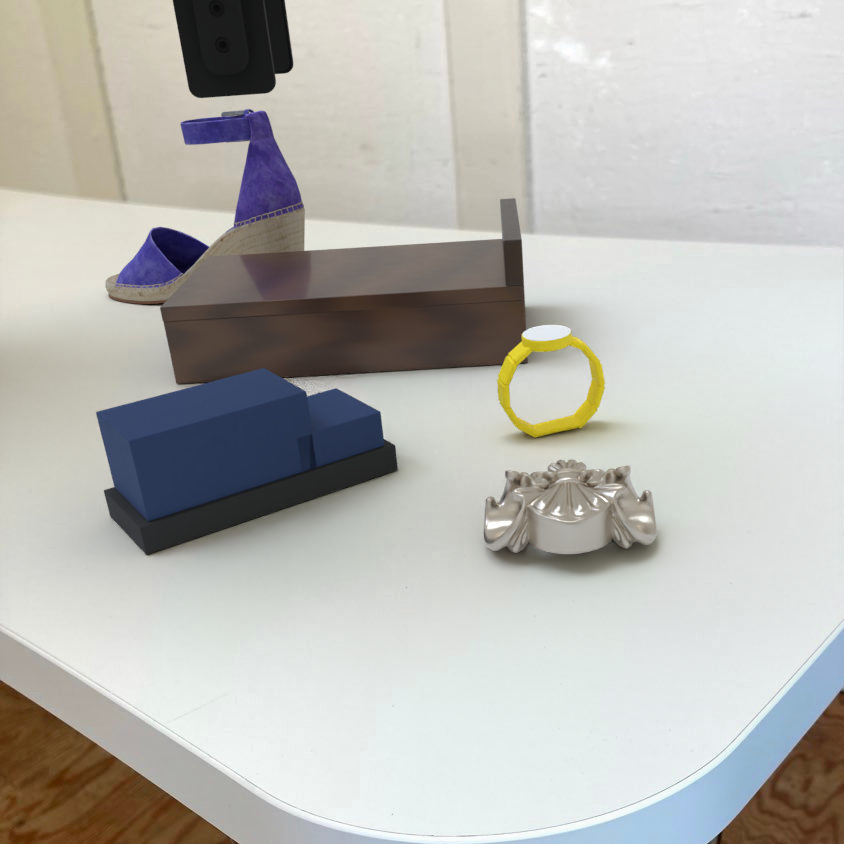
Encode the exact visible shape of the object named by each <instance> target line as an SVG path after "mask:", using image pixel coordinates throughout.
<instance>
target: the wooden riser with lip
mask: <svg viewBox="0 0 844 844" xmlns="http://www.w3.org/2000/svg"><path fill="white" fill-rule="evenodd" d="M499 206H500V224H501V226H500V227H501V238H491V239H476V240H461V241H443V242H425V243H410V244H393V245H377V246H376V245H375V246H361V247H343V248H327V249H312V250H304V251H293V252H277V253H260V254H244V255H227V256H211V257H208V258H207V259H206V260H205V261H204V262H203V263H202V264H201V265H200V266H199V267H198V268H197V269H196V270H195V271H194V272H193V274H192V275H191V276H190V277H189V278H188V279H187V280H186V281H185V282H184V283H183V284H182V285H181V286H180V287H179V288H178V289H177V290H176V291H175V292H174V293H173V294H172V295H171V296H170V297H169V299H168V300H167V301H166V302H165V303H162V305H161V306H160V307H159V310H160V315H161V321H162V322H163V326H164V331H165V336H166V341H167V346H168V351H169V355H170V360H171V364H172V369H173V374H174V379H175V383H176V384H177V385H184V384H197V383H198V384H199V383H200V384H202V383H209V382H212V381H216V380H220V379H224V378H228V377H232V376H235V375H239V374H243V373H247V372H251V371H255V370H258V369H262V368H265V369H267V370H269V371H270V372H272V373H274V374H276V375H278V376H279V377H281V378H283V379H284V378H298V377H315V376H331V375H332V376H333V375H347V374H348V375H350V374H364V373H366V374H367V373H380V372H381V373H382V372H397V371H399V372H400V371H413V370H415V371H417V370H430V369H446V368H449V369H450V368H463V367H481V366H497V365H498V366H499V365H503V363H504V360H505V358H506V356H508V353H509V352H510V351H512V350H513V349H514V348H515V347H516V346H517V345H518V344H519V343H520V342H522V337H521V336H522V334H523V332H524V331H526V330H527V317H526V316H527V315H526V295H525V276H524V256H523V255H524V253H523V238H522V233H521V226H520V225H521V224H520V220H519V212H518V205H517V199H516V198H515V197H512V198H500V199H499ZM528 356H529V355H528ZM528 356H527V357H526V358H525V359H524V360H523V361H522V362H521V363H520V364H527V363H528V362H529V358H528Z"/></svg>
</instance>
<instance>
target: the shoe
mask: <svg viewBox="0 0 844 844" xmlns="http://www.w3.org/2000/svg"><path fill="white" fill-rule="evenodd" d="M307 393H308V392H307V391H306V390H304V389H302V388H301V387H300V386H297V385H296V384H293V383H291V382H290V381H288V380H286V379H284V378H281V377H279V376H278V375H276V374H274V373H272V372H270V371H269V370H267V369H265V368H262V369H258V370H255V371H251V372H247V373H243V374H239V375H235V376H232V377H228V378H224V379H220V380H216V381H212V382H204V383H200V384H198V385H197V384H196V385H193V386H190V387H186V388H182V389H178V390H175V391H170V392H167V393H163V394H160V395H155V396H151V397H147V398H143V399H140V400H136V401H132V402H129V403H125V404H124V403H123V404H120V405H117V406H114V407H109V408H105V409H102V410H98V411H95V415H96V419H97V423H98V427H99V431H100V435H101V438H102V443H103V447H104V451H105V455H106V459H107V463H108V467H109V472H110V475H111V479H112V484H113V487H110V488H107V489H104V490H103V495H104V497H105V501H106V506H107V509H108V513H109V516H110V517H111V519H112V520H113V521H114V522H115V523H116V524H117V525H118V526H119V527H120V528H121V529H122V530H123V532H124V533H125V534H126V535H127V536H128V537H129V538H130V539H131V540H132V541H133V542H134V543H135V544H136V545H137V547H138V548H139V549H140V550H141V551H142V552H143V553H144V554H145V555H151V554H154V553H156V552H159V551H162V550H166V549H168V548H171V547H174V546H177V545H180V544H183V543H187V542H190V541H192V540H195V539H198V538H201V537H204V536H207V535H209V534H213V533H215V532H218V531H222V530H224V529H228V528H230V527H233V526H236V525H239V524H242V523H246V522H248V521H251V520H254V519H257V518H260V517H263V516H266V515H269V514H272V513H275V512H278V511H281V510H283V509H286V508H290V507H293V506H296V505H298V504H302V503H305V502H308V501H311V500H313V499H316V498H319V497H322V496H325V495H327V494H332V493H334V492H337V491H340V490H343V489H346V488H349V487H352V486H355V485H357V484H360V483H363V482H366V481H370V480H372V479H375V478H378V477H382V476H385V475H387V474H390V473H393V472H396V471H399V466H398V458H397V450H396V445H395V443H392V442H391V441H389V440H387V439H385V437H384V430H383V428H384V427H383V422H382V421H383V420H382V413H381V410H378V409H377V408H374V407H372V406H371V405H368V404H367V403H365V402H363V401H361V400H359V399H358V398H356V397H354V396H352V395H351V394H348V393H347V392H344V391H343V390H341V389H338V388H336V387H335V388H331V389H328V390H325V391H321V392H316V393H314V394H310V395H308V394H307Z"/></svg>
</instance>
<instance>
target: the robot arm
mask: <svg viewBox="0 0 844 844" xmlns="http://www.w3.org/2000/svg"><path fill="white" fill-rule="evenodd" d="M172 5H173V11H174V16H175V21H176V26H177V30H178V31H177V32H178V38H179V42H180V47H181V53H182V58H183V66H184V70H185V75H186V81H187V86H188V90H189V92H190V93H191V95H192V96H194V97H195V98H197V99H208V98H221V97H235V96H236V97H237V96H250V95H265V94H269V93H271V92H272V91H274V89H275V87H276V85H277V79H276V75H281V74H282V75H284V74H288V73H290V72H291V71H292V70H293V68H294V58H293V57H294V56H293V49H292V44H291V43H292V41H291V36H290V29H289V21H288V14H287V7H286V0H172Z"/></svg>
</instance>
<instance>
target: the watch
mask: <svg viewBox="0 0 844 844" xmlns="http://www.w3.org/2000/svg"><path fill="white" fill-rule="evenodd" d="M572 333H573V332H572V330H571V328H570V327H568V326H565V325H562V324H543V325H537V326H533V327H530V328H528V329H527V328H526V331H524V332H523V334H522V336H521V337H522V342H520V343H519V344H518V345H517V346H516V347H515V348H514V349H513V350H512V351H510V352H509V353H508V356H506V358H505V360H504V363H503V364H501V365H502V366H501V367H500V370H499V373H498V374H497V380H496V382H497V383H496V384H497V398H498V401H499V405H500V406H501V408H502V409H503V411H504V412H505V415H506V416H507V417H508V419H509V420H510V421H511V423H512V424H513V426H514V427H516V429H517V430H519V431H521V432H522V433H525V434H527V435H529V436H530V437H533V438H534V439H536V438H538V437H545V436H547V435H552V434H555V433H560V432H564V431H565V432H567V431H570V430H574V429H578V428H579V429H582V428H583V427H585V426H586V425H587V423H588V422H589V421H590V420H591V419H592V417H593V416H594V415H595V414H596V413H597V412H598V409H599V408H600V406H601V403H602V399H603V396H604V391H605V389H606V386H605V385H606V381H605V375H604V370H603V364H602V363H601V360H600V359H599V357H598V356H597V355H596V354H595V353H594V352H593V350H592V348H590V347H589V345H587V344H586V343H585V342H584V341H583V340H582V339H580V338H579V337H577V336H574V335H572ZM568 347H572V348H575V349H578V350H580V351H581V352H582V354H583V355H584V356H585V357H586V358H587V360H588V364H589V365H588V366H589V370H590V375H591V381H590V385H589V389H588V392H587V395H586V399H585V400H584V401H583V402H582V403H581V405H580V406H579V407H578V408H577V410H575V412H574V413H573V414H572V415H568V416H564V417H559V418H555V419H551V420H547V421H543V422H538V423H535V424H532V423H529V422H528V421H526V420H524V419H522V418H521V417H518V416H517V415H516V413H515V411H514V409H513V408H512V407H511V393H510V384H511V383H512V380H513V378H514V376H515V373H516V371H517V368H518V366H519V365H520V364H522V363H521V362H522V361H523V360H524V359H525V358H526V357H527V356H530V355H531V354H532V353H533V352H535V353H550V352H555V351H560V350H563V349H565V348H568Z"/></svg>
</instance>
